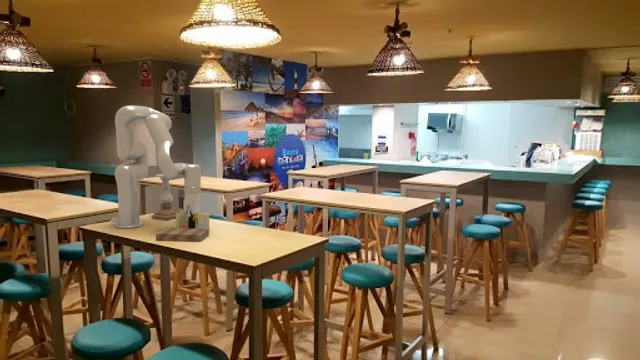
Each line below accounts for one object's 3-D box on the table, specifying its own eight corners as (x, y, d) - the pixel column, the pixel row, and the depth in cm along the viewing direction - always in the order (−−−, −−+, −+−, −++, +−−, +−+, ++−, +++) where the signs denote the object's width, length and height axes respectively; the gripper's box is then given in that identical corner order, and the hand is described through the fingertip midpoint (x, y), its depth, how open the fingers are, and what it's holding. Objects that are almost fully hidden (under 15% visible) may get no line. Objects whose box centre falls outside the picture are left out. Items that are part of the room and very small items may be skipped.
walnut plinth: (155, 240, 202) (155, 233, 202) (166, 234, 214) (166, 227, 214) (200, 241, 201) (200, 235, 201) (208, 235, 213) (208, 229, 213)
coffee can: (175, 223, 238) (174, 196, 236) (186, 219, 247) (186, 193, 246) (192, 225, 235) (191, 197, 233) (203, 221, 244) (202, 194, 243)
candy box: (210, 230, 222) (209, 213, 221) (208, 231, 220) (208, 214, 219) (177, 228, 223) (177, 212, 222) (175, 229, 221) (175, 213, 220)
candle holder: (166, 215, 258) (165, 173, 255) (181, 217, 253) (180, 174, 251) (151, 218, 248) (150, 174, 246) (166, 220, 244) (165, 176, 241)
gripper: (190, 187, 227) (191, 224, 230) (178, 192, 212) (179, 231, 214) (205, 188, 227) (205, 224, 229) (194, 192, 211) (194, 232, 213)
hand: (192, 227), depth 221 cm, fingers closed on candy box, 2 cm apart
